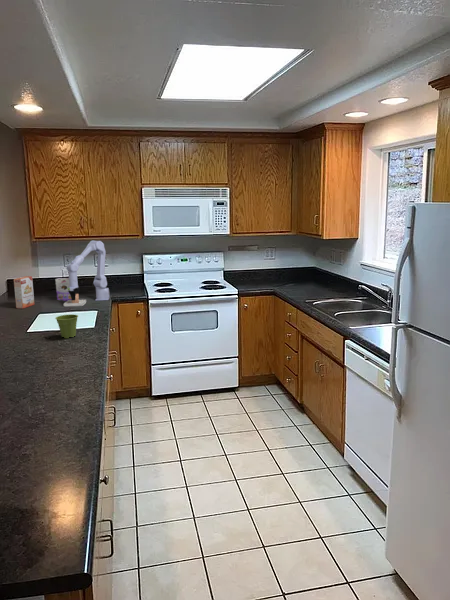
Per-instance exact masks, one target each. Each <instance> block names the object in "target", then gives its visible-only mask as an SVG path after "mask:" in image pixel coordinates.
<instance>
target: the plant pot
mask: <svg viewBox="0 0 450 600" xmlns="http://www.w3.org/2000/svg"><path fill="white" fill-rule="evenodd" d="M78 317H79V315H78V314H63V315H58V316H55V318H54V319H55V320H56V322H57V324H58V328H59V332H60V335H61V338H62V337H64V338H63V339H70V338H69V337H73V338H74V336H75V337H76V336H77V335H76V334H77V325H78V324H77V323H78Z"/></svg>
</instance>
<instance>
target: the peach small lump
mask: <svg viewBox="0 0 450 600" xmlns="http://www.w3.org/2000/svg"><path fill="white" fill-rule="evenodd" d="M79 295H80V294H79V293H78V294H76V298H75V300H72V303H79V300H80V297H79Z"/></svg>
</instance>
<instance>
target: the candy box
mask: <svg viewBox="0 0 450 600" xmlns="http://www.w3.org/2000/svg"><path fill="white" fill-rule="evenodd" d="M54 282H55V283H54V285H55V291H56V301H57V300H60V301H65V302H66V301H68V300H72V299H71V296H70V294H69V292H68V291H69V290H70V288H68V286H70V285H69V277H63V278H62V277H58V278H55V279H54Z"/></svg>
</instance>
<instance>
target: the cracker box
mask: <svg viewBox="0 0 450 600" xmlns="http://www.w3.org/2000/svg"><path fill="white" fill-rule="evenodd" d="M13 287H14V298H15V308H16V309H21V310H22V309H25V308H26V309H27V308H29V307H31V306H35V296H34V295H35V294H34V283H33V276H30V275H28V276H27V275H26V276H25V275H24V276H21V277H17V278H14V279H13Z"/></svg>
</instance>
